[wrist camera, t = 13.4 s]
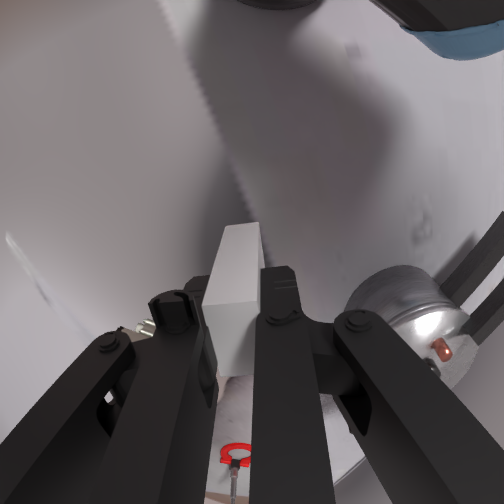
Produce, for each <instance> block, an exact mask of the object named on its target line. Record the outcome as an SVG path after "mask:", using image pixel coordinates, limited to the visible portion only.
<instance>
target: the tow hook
mask: <svg viewBox="0 0 504 504" xmlns="http://www.w3.org/2000/svg"><path fill="white" fill-rule="evenodd" d="M233 449H245V450H248V451H250V452H251V445H249V444H245V443H232V444H228V445H226V446H224V447H223V448H222V449H221V456H222V457H221V459H220V463H225V464H230V465H229V469H230V470H231V476H230V477H231V494H230V498H231V504H235V498H236V484H237V478H238V470H239V469H240V466H243V467H249V463H251V456H250V457H248V458H243V459H241V461H240V460H236V459H232V457H231V456H230V455H229V454H228V452H229V451H230V450H233Z"/></svg>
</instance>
